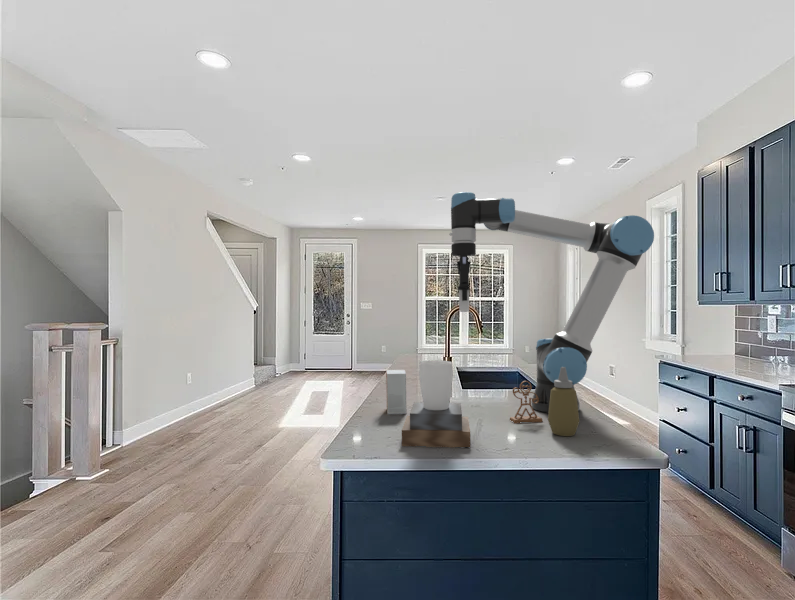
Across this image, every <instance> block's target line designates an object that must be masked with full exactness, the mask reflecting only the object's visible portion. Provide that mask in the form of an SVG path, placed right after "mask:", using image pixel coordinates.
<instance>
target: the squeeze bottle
mask: <svg viewBox="0 0 795 600" xmlns="http://www.w3.org/2000/svg"><path fill="white" fill-rule="evenodd" d="M554 386H555V387H554V388H553V389H551V393H550V403H549V413H548V412H547V413H548V416H547V421H548V423H549V424H548V425H549V426H550V431H551V432H552V434H554V435H557V436H560V437H572V436H575V434H576V432H577V429H578V427H579V424H580V414H579V411H578V404H577V397H578V395H576V394H577V391H576V389H575V390H574V389H573V388H572V381H571V380H568V376H567V372H566V367H561V369H560V374H559V378H558V380H555V381H554Z"/></svg>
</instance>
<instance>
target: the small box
mask: <svg viewBox="0 0 795 600" xmlns="http://www.w3.org/2000/svg"><path fill="white" fill-rule="evenodd" d="M385 376H386V378H385V379H386V381H385V382H386V383H385V384H386V385H385V386H386V411H387V413H386V414H387V415H407V410H408V409H407V372H406V370H405V369H389V370H388V369H386V371H385Z"/></svg>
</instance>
